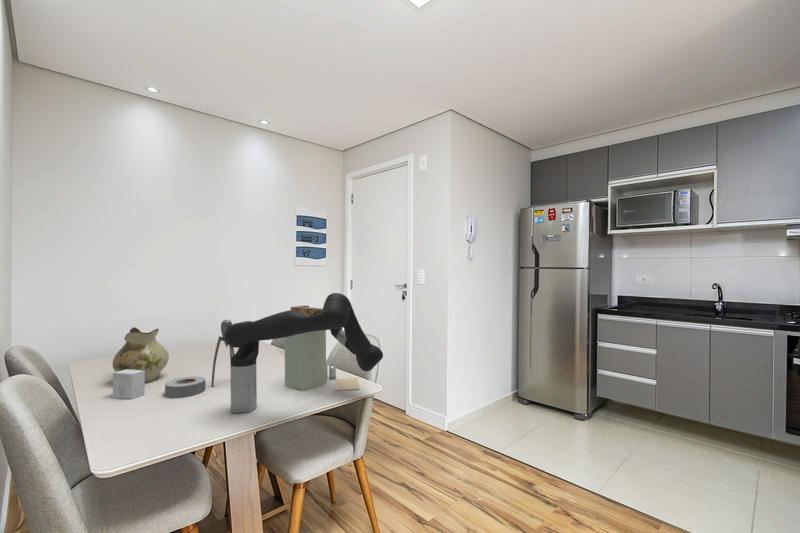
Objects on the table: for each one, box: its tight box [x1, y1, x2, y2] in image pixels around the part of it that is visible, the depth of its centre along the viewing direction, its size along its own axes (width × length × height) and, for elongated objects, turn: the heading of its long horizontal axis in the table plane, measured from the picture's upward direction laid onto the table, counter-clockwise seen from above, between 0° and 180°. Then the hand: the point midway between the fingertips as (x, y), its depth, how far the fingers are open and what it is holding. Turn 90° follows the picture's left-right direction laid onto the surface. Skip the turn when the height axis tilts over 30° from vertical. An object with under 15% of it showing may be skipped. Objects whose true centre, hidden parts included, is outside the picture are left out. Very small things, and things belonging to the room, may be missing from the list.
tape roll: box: [164, 375, 206, 399], centre depth 165 cm, size 15×15×5 cm
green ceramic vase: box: [112, 327, 170, 383], centre depth 183 cm, size 22×24×25 cm
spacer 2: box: [328, 365, 337, 381], centre depth 183 cm, size 3×3×6 cm
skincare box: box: [112, 369, 146, 400], centre depth 160 cm, size 10×6×10 cm, turn 74°
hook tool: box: [290, 305, 323, 316], centre depth 173 cm, size 26×8×4 cm, turn 54°
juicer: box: [211, 319, 235, 388], centre depth 174 cm, size 10×11×30 cm
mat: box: [335, 377, 360, 392], centre depth 173 cm, size 16×10×1 cm, turn 9°
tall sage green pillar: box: [284, 330, 327, 392], centre depth 174 cm, size 13×15×32 cm
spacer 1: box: [326, 364, 329, 380], centre depth 184 cm, size 3×3×6 cm
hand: (321, 312), depth 168 cm, fingers open, 8 cm apart
